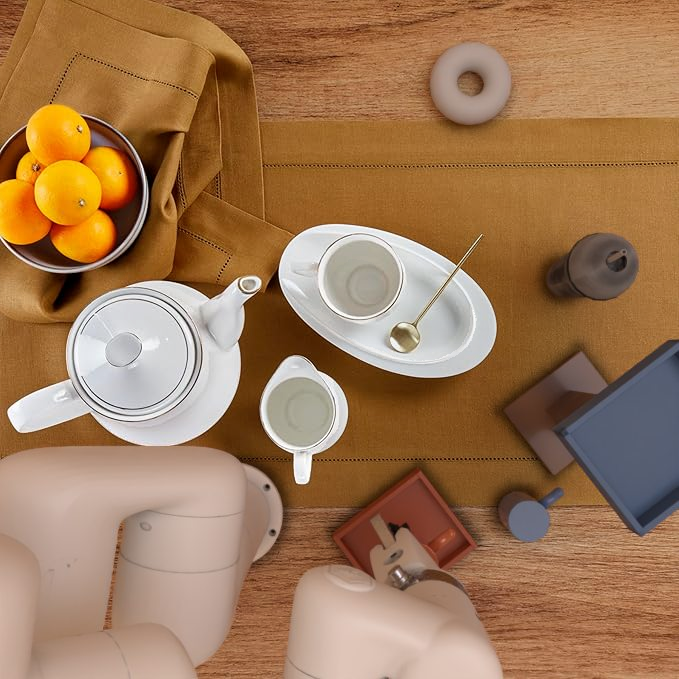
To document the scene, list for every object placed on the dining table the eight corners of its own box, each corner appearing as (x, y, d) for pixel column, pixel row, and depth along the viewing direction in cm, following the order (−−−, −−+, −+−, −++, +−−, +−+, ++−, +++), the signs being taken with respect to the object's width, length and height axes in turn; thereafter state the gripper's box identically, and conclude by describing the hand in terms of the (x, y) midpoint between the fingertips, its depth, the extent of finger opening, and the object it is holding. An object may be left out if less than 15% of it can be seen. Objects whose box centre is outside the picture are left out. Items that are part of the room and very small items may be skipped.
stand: (551, 474, 80) (629, 520, 58) (501, 409, 80) (560, 430, 58) (628, 415, 80) (736, 438, 58) (578, 350, 80) (667, 348, 58)
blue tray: (628, 529, 58) (641, 537, 55) (551, 429, 58) (560, 432, 55) (746, 439, 58) (764, 443, 55) (668, 339, 58) (682, 338, 56)
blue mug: (514, 538, 80) (525, 550, 75) (490, 507, 80) (499, 517, 75) (565, 499, 80) (579, 509, 75) (541, 467, 80) (554, 475, 75)
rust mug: (407, 581, 74) (411, 597, 69) (381, 547, 74) (383, 561, 69) (463, 539, 74) (471, 552, 69) (437, 504, 74) (443, 515, 69)
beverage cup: (587, 314, 80) (668, 300, 60) (529, 302, 80) (590, 285, 60) (599, 256, 80) (683, 223, 60) (541, 244, 80) (605, 208, 60)
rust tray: (388, 605, 79) (389, 614, 77) (332, 532, 80) (332, 538, 77) (474, 540, 80) (478, 546, 77) (418, 467, 80) (420, 470, 77)
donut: (493, 40, 81) (417, 63, 81) (500, 25, 78) (420, 50, 78) (517, 115, 81) (441, 139, 81) (526, 104, 77) (446, 129, 77)
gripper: (334, 563, 56) (339, 511, 74) (456, 725, 55) (431, 633, 73) (404, 509, 55) (392, 471, 74) (527, 671, 55) (484, 592, 73)
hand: (411, 552), depth 73 cm, fingers closed on rust mug, 4 cm apart
